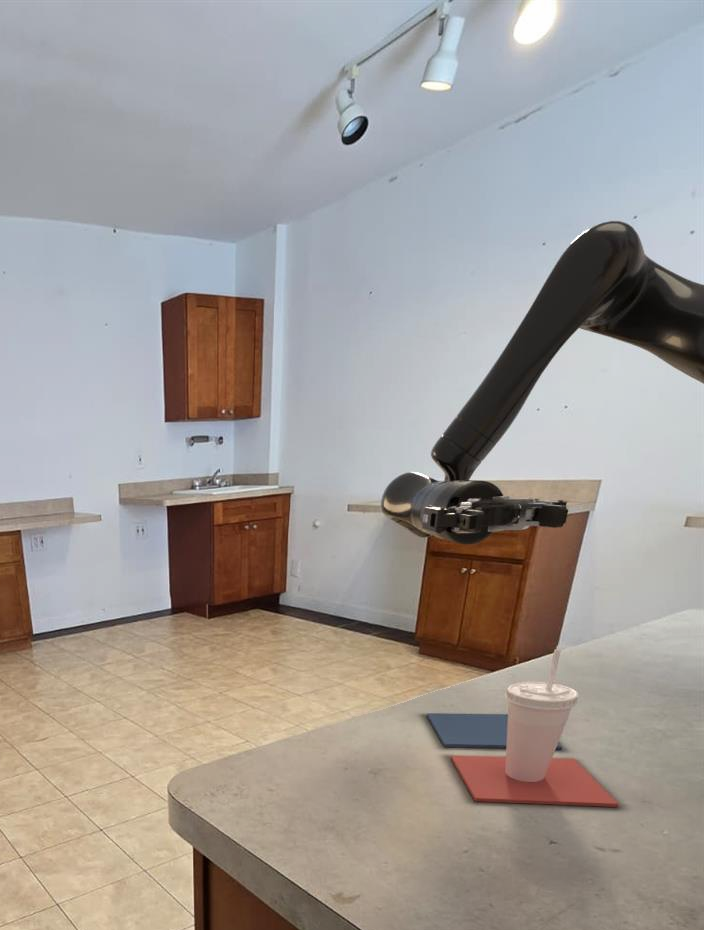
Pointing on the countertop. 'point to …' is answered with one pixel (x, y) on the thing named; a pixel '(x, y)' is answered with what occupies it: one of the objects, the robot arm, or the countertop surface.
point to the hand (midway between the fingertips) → (520, 519)
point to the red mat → (531, 783)
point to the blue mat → (471, 730)
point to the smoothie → (536, 724)
